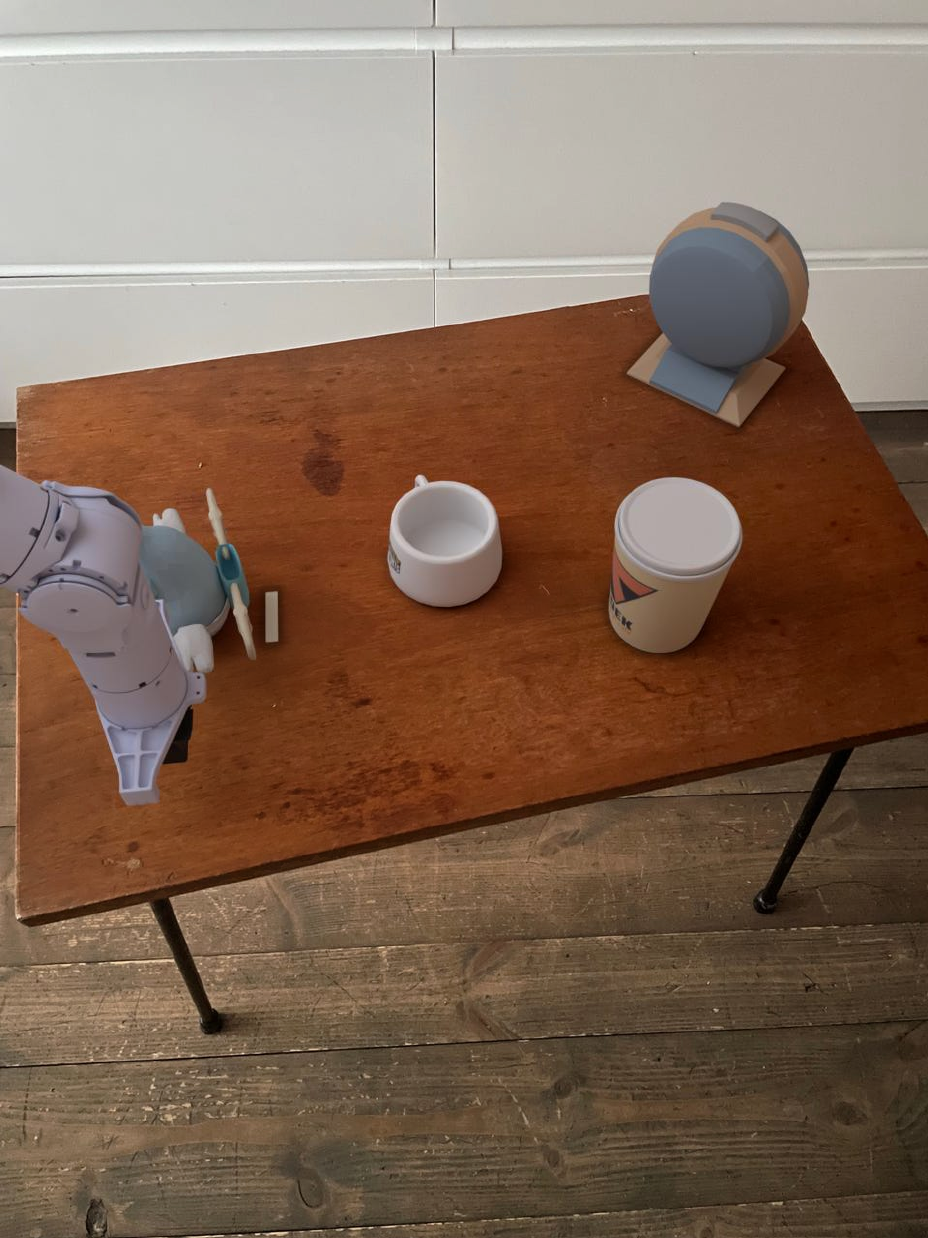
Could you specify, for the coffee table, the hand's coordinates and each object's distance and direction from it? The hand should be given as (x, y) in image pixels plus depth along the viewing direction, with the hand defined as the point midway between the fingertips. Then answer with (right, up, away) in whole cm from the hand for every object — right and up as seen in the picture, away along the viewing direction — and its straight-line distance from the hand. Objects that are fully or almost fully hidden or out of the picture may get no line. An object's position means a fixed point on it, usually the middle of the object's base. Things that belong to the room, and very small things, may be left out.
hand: (173, 755), depth 77 cm
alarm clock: (+45, +34, +27) cm, 62 cm away
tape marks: (-1, +9, +10) cm, 14 cm away
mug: (+19, +15, +14) cm, 28 cm away
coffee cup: (+37, +10, +11) cm, 40 cm away
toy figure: (-1, +9, +10) cm, 14 cm away
